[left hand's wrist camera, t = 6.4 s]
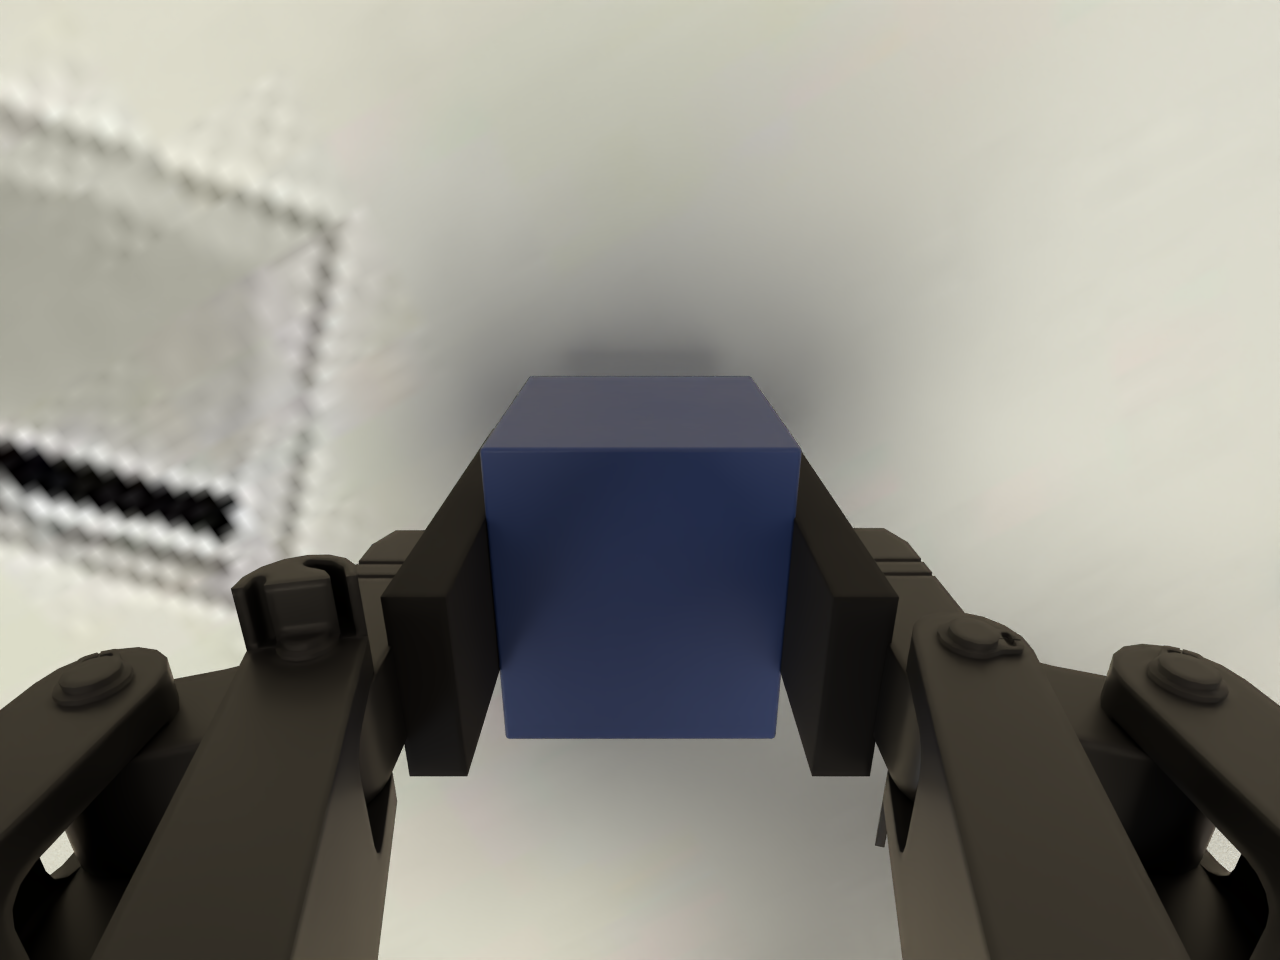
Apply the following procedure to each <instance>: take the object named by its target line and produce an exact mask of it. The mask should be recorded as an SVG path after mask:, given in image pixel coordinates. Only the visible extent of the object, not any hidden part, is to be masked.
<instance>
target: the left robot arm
mask: <svg viewBox="0 0 1280 960" xmlns="http://www.w3.org/2000/svg"><path fill="white" fill-rule="evenodd" d="M493 430H494V429H493ZM493 430H492V431H493ZM492 431H491V433H492ZM491 433H490V434H491ZM490 434H489V436H490ZM489 436H488V437H489ZM488 437H487V439H488ZM487 439H486V440H487ZM486 440H485V442H486ZM485 442H484V443H485ZM484 443H483V444H484ZM482 446H483V445H482ZM482 446H481V447H482ZM480 450H481V448H480V449H479V451H478V452H477V454H476V455H475V457H474V458H473V460H472V461H471V463H470V464H469V466H468V467H467V469H466V470H465V472H464V473H463V475H462V476H461V478H460V479H459V481H458V482H457V484H456V485H455V487H454V488H453V489H452V491H451V492H450V494H449V495H448V497H447V498H446V500H445V501H444V503H443V504H442V506H441V507H440V509H439V510H438V512H437V513H436V515H435V516H434V518H433V519H432V521H431V522H430V524H429V525H428V527H427V528H426V530H396V531H394V532H392V533H391V534H389V535H387V536H386V537H384V538H382V539H381V540H379V541H377V542H376V543H374V544H372V545H371V547H370V548H369V549H368V550H367V552H366V553H365V554H364V555H363V557H362V558H361V559H360V560H359V564H356V565H355V564H353V563H352V562H351V561H349V560H348V559H346V558H343V557H338V556H333V555H305V556H300V557H294V558H288V559H284V560H281V561H278V562H275V563H272V564H269V565H266V566H263V567H260V568H259V569H257V570H255V571H253V572H251V573H249V574H248V575H246V576H244V577H242V578H241V579H240V580H239V581H238V582H237V583H236V584H235V585H234V586H233V587H232V588H231V591H232V595H233V598H234V602H235V606H236V610H237V614H238V618H239V622H240V626H241V630H242V633H243V637H244V641H245V645H246V649H247V652H246V654H245V656H244V658H243V660H242V662H241V664H240V666H237V667H233V668H229V669H225V670H219V671H214V672H209V673H204V674H198V675H193V676H188V677H183V678H177V679H173V675H172V672H171V669H170V666H169V663H168V659H167V657H166V656H164V655H163V654H162V653H160V652H159V651H158V650H154V649H147V648H140V647H135V648H125V649H111V650H106V651H101V653H99V654H98V653H94V654H91V655H88V656H84V657H82V658H80V659H79V660H78V661H75V662H73V663H71V664H68V665H66V666H64V667H61V668H59V669H57V670H56V671H54V672H52V673H51V674H49V675H48V676H46V677H44V678H43V679H41V680H40V681H38V682H36V683H35V684H33V685H32V686H31V687H30V688H28V689H27V690H26V691H24V692H23V693H22V694H21V695H19V696H18V697H17V698H15V699H14V700H13V701H11V702H10V703H9V704H8V705H6V706H5V707H4V708H2V709H1V710H0V960H378V952H379V944H380V936H381V928H382V920H383V912H384V904H385V896H386V887H387V879H388V871H389V863H390V855H391V847H392V839H393V831H394V823H395V814H396V806H397V797H396V790H395V784H394V779H393V773H392V771H393V769H394V766H395V764H396V762H397V759H398V757H399V755H400V753H401V750H402V748H403V746H404V744H405V750H406V756H407V762H408V769H409V775H410V776H468V772H469V769H470V766H471V762H472V759H473V756H474V753H475V749H476V746H477V743H478V739H479V736H480V733H481V730H482V726H483V723H484V720H485V716H486V713H487V710H488V707H489V703H490V700H491V697H492V694H493V690H494V687H495V684H496V680H497V677H498V674H499V671H500V667H499V656H498V645H497V634H496V623H495V612H494V601H493V590H492V579H491V568H490V557H489V546H488V535H487V524H486V513H485V501H484V490H483V479H482V468H481V457H480ZM780 672H781V675H782V679H783V682H784V685H785V689H786V692H787V695H788V698H789V702H790V705H791V708H792V712H793V715H794V718H795V721H796V725H797V728H798V731H799V735H800V738H801V741H802V744H803V748H804V751H805V754H806V758H807V761H808V764H809V767H810V771H811V774H812V776H870V772H871V765H872V759H873V753H874V747H875V741H876V744H877V746H878V748H879V750H880V753H881V755H882V757H883V759H884V762H885V764H886V766H887V768H888V773H887V779H886V784H885V790H884V796H883V801H882V807H881V813H880V818H879V824H878V830H877V836H876V843H875V846H880V847H884V846H885V841H886V835H887V837H888V845H889V853H890V862H891V870H892V878H893V886H894V894H895V902H896V910H897V918H898V926H899V934H900V942H901V950H902V959H903V960H1280V706H1279V705H1278V704H1277V703H1275V702H1274V701H1273V700H1271V699H1270V698H1269V697H1267V696H1266V695H1265V694H1263V693H1262V692H1261V691H1260V690H1258V689H1257V688H1256V687H1254V686H1253V685H1252V684H1250V683H1249V682H1248V681H1246V680H1245V679H1243V678H1242V677H1240V676H1238V675H1237V674H1235V673H1234V672H1232V671H1230V670H1229V669H1227V668H1226V667H1224V666H1222V665H1220V664H1218V663H1215V662H1213V661H1211V660H1208V659H1206V658H1203V657H1202V656H1201V655H1199V654H1197V653H1194V652H1191V651H1188V650H1184V649H1183V651H1182V650H1180V648H1176V647H1171V646H1158V645H1148V644H1138V645H1131V646H1125V647H1122V648H1121V649H1120V650H1118V651H1117V652H1116V653H1114V654H1113V657H1112V660H1111V664H1110V667H1109V670H1108V673H1107V676H1103V675H1098V674H1092V673H1087V672H1082V671H1077V670H1071V669H1066V668H1061V667H1055V666H1051V665H1047V664H1043V663H1040V662H1039V660H1038V658H1037V656H1036V654H1035V652H1034V651H1033V649H1032V648H1031V647H1030V646H1029V644H1028V643H1027V642H1026V641H1025V640H1024V638H1023V637H1022V636H1020V635H1019V634H1017V633H1015V632H1014V631H1012V630H1011V629H1009V628H1008V627H1006V626H1005V625H1002V624H1000V623H997V622H995V621H992V620H990V619H987V618H985V617H981V616H977V615H972V614H967V613H964V611H963V610H962V609H961V608H960V606H959V605H958V604H957V603H956V602H955V600H954V599H953V598H952V597H951V595H950V594H949V593H948V592H947V590H946V589H945V588H944V587H943V585H942V584H941V583H940V582H939V581H938V579H937V578H936V577H935V576H932V572H931V571H930V569H929V568H928V567H927V566H926V564H925V563H924V562H921V558H920V557H919V556H918V555H917V553H916V552H915V551H914V550H913V548H912V547H911V546H910V545H909V543H908V542H906V541H905V540H903V539H901V538H900V537H898V536H896V535H894V534H893V533H891V532H889V531H888V530H886V529H884V528H852V526H851V525H850V523H849V522H848V520H847V519H846V517H845V516H844V514H843V513H842V511H841V510H840V508H839V507H838V505H837V504H836V502H835V501H834V499H833V498H832V496H831V495H830V493H829V492H828V490H827V489H826V487H825V486H824V484H823V483H822V481H821V480H820V478H819V477H818V475H817V474H816V472H815V471H814V469H813V468H812V466H811V465H810V463H809V462H808V461H807V459H806V458H805V456H804V455H803V453H801V463H800V474H799V485H798V496H797V507H796V517H795V518H794V529H793V540H792V551H791V562H790V573H789V584H788V595H787V606H786V616H785V627H784V638H783V649H782V660H781V671H780ZM1216 827H1217V829H1218V830H1219V831H1220V832H1221V833H1222V834H1223V835H1224V836H1225V837H1226V838H1227V839H1228V840H1229V841H1230V842H1231V843H1232V844H1233V845H1234V846H1235V848H1236V849H1237V850H1238V851H1239V852H1240V853H1241V856H1240V858H1239V860H1238V862H1237V865H1236V867H1235V869H1234V870H1233V871H1232V872H1229V871H1227V870H1226V869H1225V868H1224V867H1223V866H1222V865H1221V864H1219V863H1218V862H1217V861H1216V859H1215V858H1214V857H1213V856H1212V855H1211V854H1210V853H1209V852H1208V851H1207V846H1208V844H1209V842H1210V839H1211V837H1212V835H1213V832H1214V830H1215V828H1216ZM64 831H65V832H66V834H67V836H68V839H69V841H70V843H71V846H72V848H73V850H74V853H73V854H72V855H71V856H70V857H69V859H68V860H67V861H66V862H65V863H64V864H63V865H62V866H61V867H60V868H58V869H57V870H56V871H55V872H53V873H52V874H51V875H49V874H48V873H47V872H46V871H45V869H44V866H43V864H42V862H41V860H40V857H41V855H42V854H43V853H44V852H45V851H46V850H47V849H48V848H49V847H50V846H51V845H52V844H53V843H54V842H55V841H56V839H57V838H58V837H59V836H60V835H61V834H62V833H63V832H64Z"/></svg>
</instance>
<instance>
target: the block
mask: <svg viewBox="0 0 1280 960" xmlns="http://www.w3.org/2000/svg"><path fill="white" fill-rule="evenodd" d="M801 453H802V451H801V448H800V447H799V445H798V444H797V442H796V441H795V439H794V438H793V437H792V435H791V434H790V432H789V431H788V429H787V428H786V426H785V425H784V424H783V422H782V421H781V419H780V418H779V416H778V415H777V414H776V412H775V411H774V409H773V408H772V406H771V405H770V403H769V402H768V401H767V399H766V398H765V396H764V395H763V393H762V392H761V391H760V389H759V388H758V386H757V385H756V383H755V382H754V381H753V379H752V378H751V377H750V376H531V377H529V379H528V380H527V382H526V383H525V385H524V386H523V387H522V389H521V390H520V392H519V393H518V395H517V396H516V398H515V399H514V401H513V402H512V404H511V405H510V406H509V408H508V409H507V411H506V412H505V414H504V415H503V417H502V418H501V420H500V421H499V423H498V424H497V425H496V427H495V428H494V430H493V431H492V433H491V434H490V436H489V437H488V439H487V440H486V442H485V443H484V444H483V446H482V447H481V450H480V457H481V468H482V479H483V490H484V501H485V513H486V524H487V535H488V546H489V557H490V568H491V579H492V590H493V601H494V612H495V623H496V634H497V645H498V656H499V667H500V678H501V689H502V700H503V711H504V722H505V733H506V737H507V738H509V739H772V738H774V737H775V734H776V724H777V713H778V702H779V691H780V680H781V672H780V671H781V660H782V649H783V638H784V627H785V616H786V606H787V595H788V584H789V573H790V562H791V551H792V540H793V529H794V518H795V517H796V507H797V496H798V485H799V474H800V463H801Z"/></svg>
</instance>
